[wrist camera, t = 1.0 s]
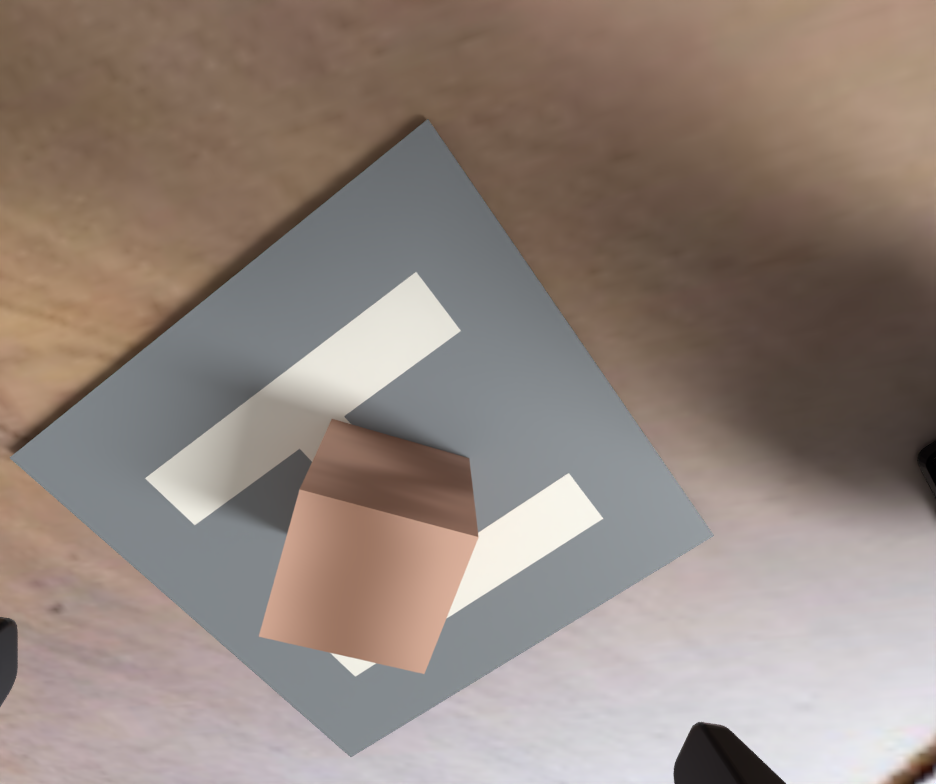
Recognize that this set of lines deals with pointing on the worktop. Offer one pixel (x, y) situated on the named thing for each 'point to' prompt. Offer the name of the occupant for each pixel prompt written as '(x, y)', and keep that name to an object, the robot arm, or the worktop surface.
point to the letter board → (382, 410)
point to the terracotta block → (374, 549)
